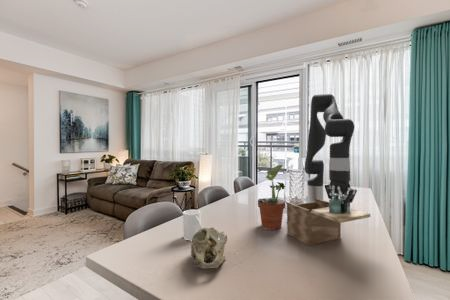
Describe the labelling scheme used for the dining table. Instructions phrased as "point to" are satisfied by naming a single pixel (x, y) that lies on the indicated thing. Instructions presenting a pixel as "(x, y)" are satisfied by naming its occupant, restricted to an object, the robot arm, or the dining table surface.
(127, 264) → the dining table surface
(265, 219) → the potted plant
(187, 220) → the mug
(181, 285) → the dining table surface
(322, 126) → the robot arm
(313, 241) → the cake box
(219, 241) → the skull
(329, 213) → the lid
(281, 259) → the dining table surface
